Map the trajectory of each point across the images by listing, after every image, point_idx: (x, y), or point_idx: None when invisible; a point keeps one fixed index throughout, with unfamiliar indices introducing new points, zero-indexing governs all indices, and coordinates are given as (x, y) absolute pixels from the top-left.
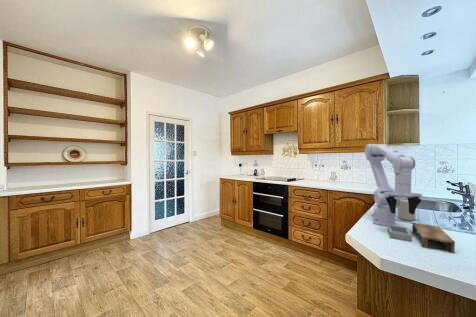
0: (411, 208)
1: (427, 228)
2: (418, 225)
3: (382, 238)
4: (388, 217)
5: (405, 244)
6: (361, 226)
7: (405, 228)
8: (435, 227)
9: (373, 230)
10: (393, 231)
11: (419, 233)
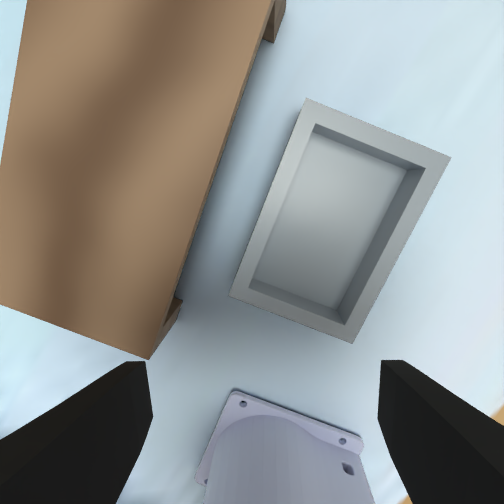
0: (98, 453)
1: (102, 220)
2: (136, 294)
3: (492, 140)
4: (282, 472)
5: (382, 43)
6: (497, 375)
7: (249, 279)
8: (17, 264)
9: (453, 304)
10: (333, 275)
11: (244, 86)
